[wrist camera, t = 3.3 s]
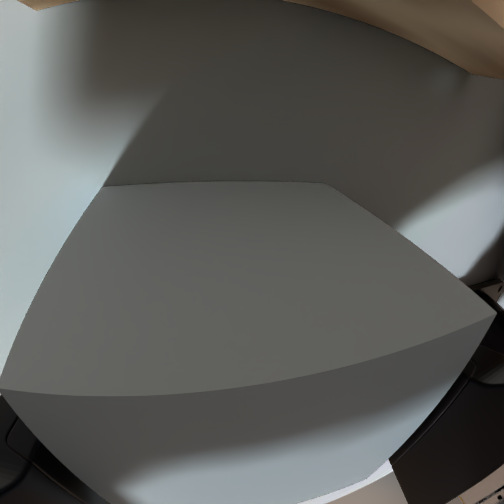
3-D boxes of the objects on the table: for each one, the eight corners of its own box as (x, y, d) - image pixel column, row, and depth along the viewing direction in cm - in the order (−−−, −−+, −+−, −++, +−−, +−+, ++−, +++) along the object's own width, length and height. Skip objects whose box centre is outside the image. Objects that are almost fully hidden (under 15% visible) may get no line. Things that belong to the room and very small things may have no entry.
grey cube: (325, 182, 8) (497, 312, 3) (295, 340, 11) (366, 479, 6) (101, 186, 7) (-4, 388, 2) (132, 357, 10) (139, 523, 5)
